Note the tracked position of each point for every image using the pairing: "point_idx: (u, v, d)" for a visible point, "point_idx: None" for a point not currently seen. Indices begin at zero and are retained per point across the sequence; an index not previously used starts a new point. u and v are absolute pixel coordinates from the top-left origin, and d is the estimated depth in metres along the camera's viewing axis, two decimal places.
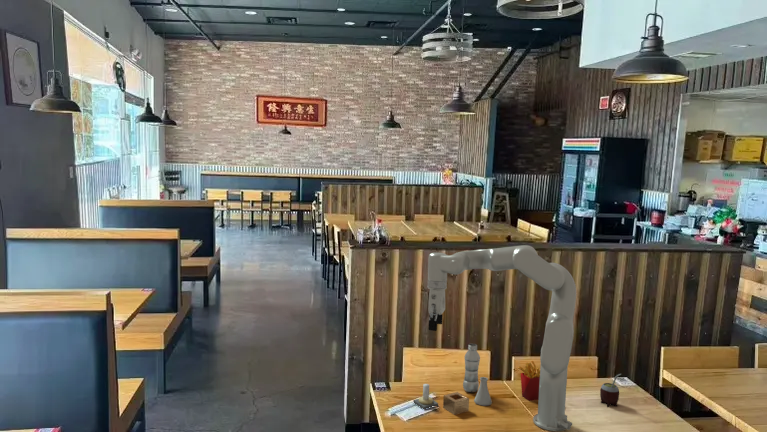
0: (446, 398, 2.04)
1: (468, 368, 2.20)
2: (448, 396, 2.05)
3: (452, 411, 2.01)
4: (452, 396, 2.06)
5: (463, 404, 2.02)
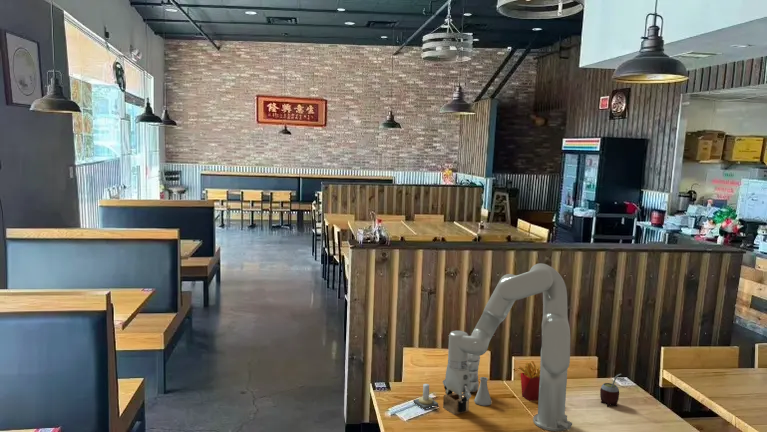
0: (446, 398, 2.04)
1: (468, 368, 2.20)
2: (448, 396, 2.05)
3: (452, 411, 2.01)
4: (452, 396, 2.06)
5: None
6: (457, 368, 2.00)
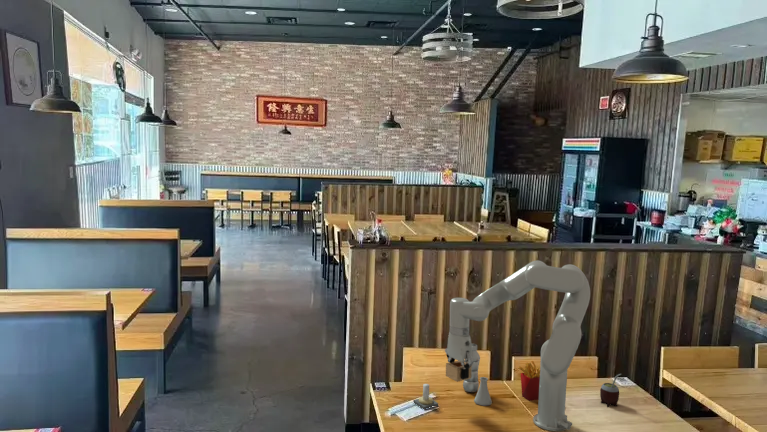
0: (448, 366, 2.03)
1: None
2: (450, 364, 2.04)
3: (455, 378, 2.00)
4: (454, 364, 2.05)
5: None
6: (459, 334, 1.99)
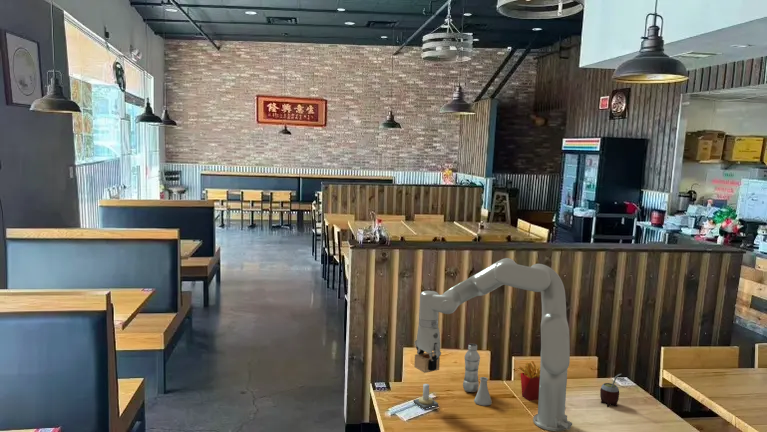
0: (417, 357, 2.07)
1: (468, 368, 2.20)
2: (419, 355, 2.07)
3: (422, 369, 2.04)
4: (423, 355, 2.09)
5: None
6: (427, 327, 2.03)
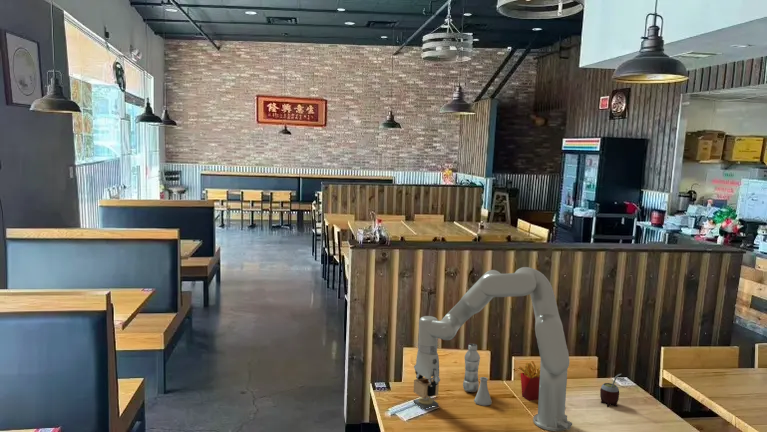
0: (416, 382, 2.08)
1: (468, 368, 2.20)
2: (418, 380, 2.08)
3: (422, 395, 2.04)
4: (422, 380, 2.10)
5: None
6: (427, 353, 2.03)
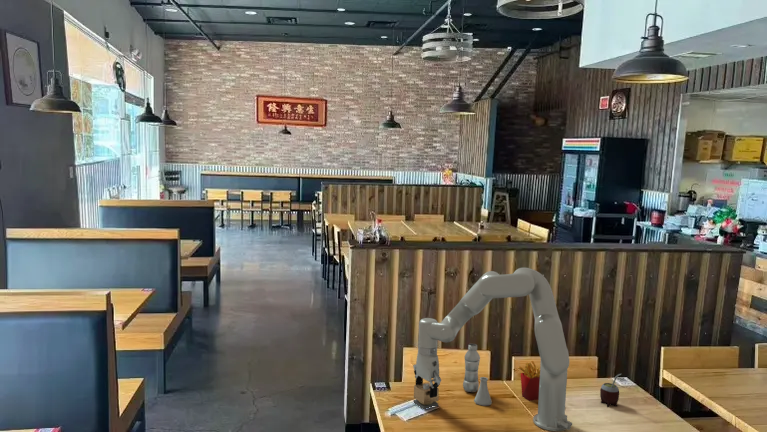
0: (416, 388, 2.08)
1: (468, 368, 2.20)
2: (418, 386, 2.08)
3: (422, 401, 2.05)
4: (422, 386, 2.10)
5: None
6: (426, 355, 2.03)
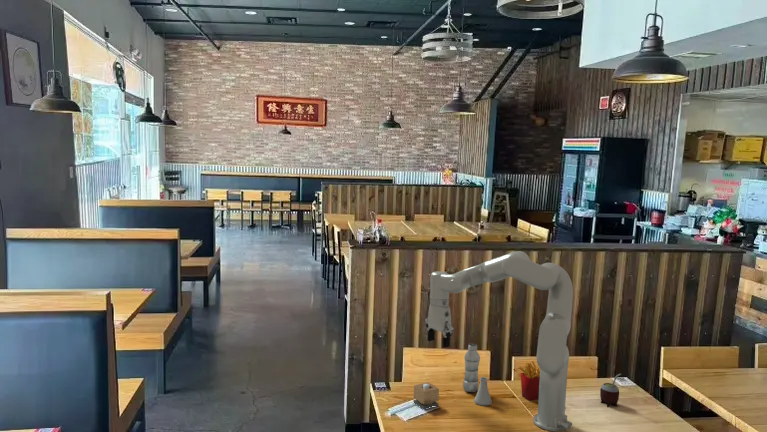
0: (416, 388, 2.08)
1: (468, 368, 2.20)
2: (418, 386, 2.08)
3: (422, 401, 2.05)
4: (422, 386, 2.10)
5: (433, 394, 2.06)
6: (439, 306, 2.10)
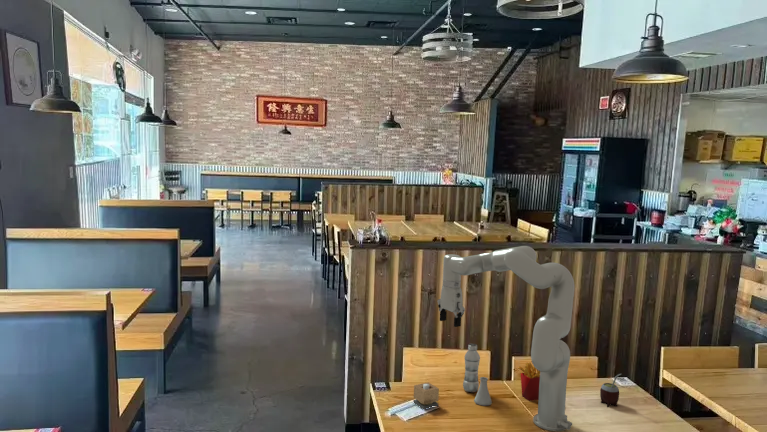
0: (416, 388, 2.08)
1: (468, 368, 2.20)
2: (418, 386, 2.08)
3: (422, 401, 2.05)
4: (422, 386, 2.10)
5: (433, 394, 2.06)
6: (451, 287, 2.19)
